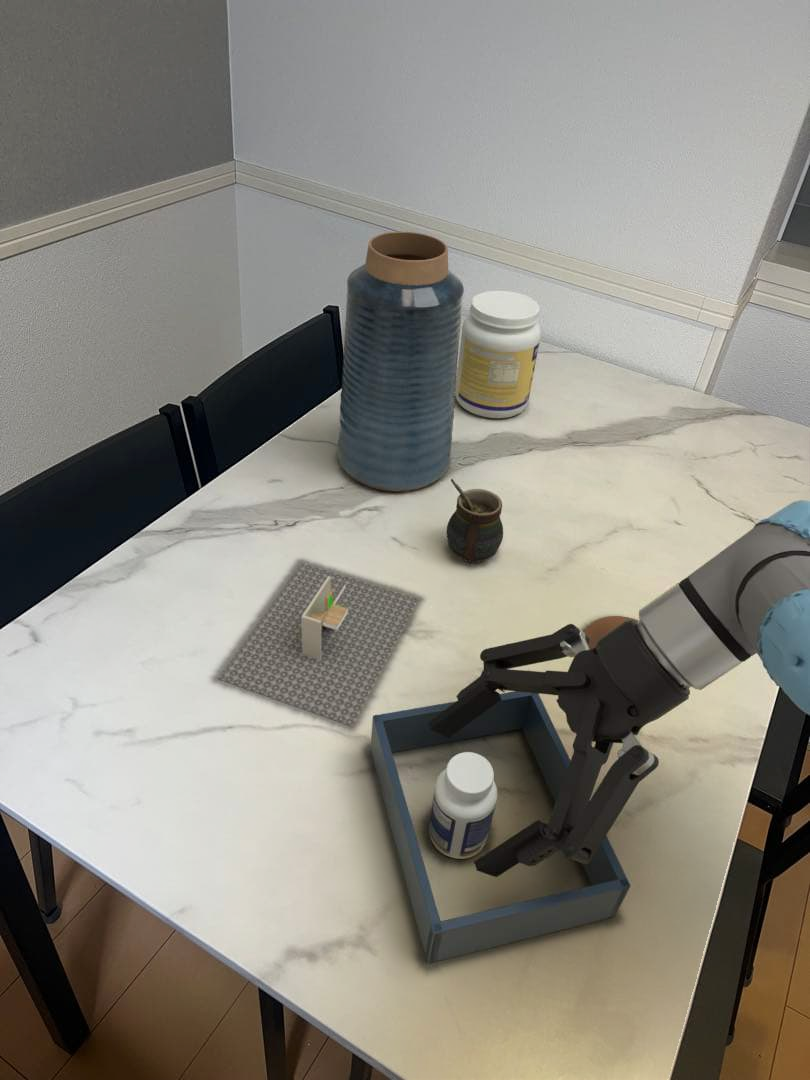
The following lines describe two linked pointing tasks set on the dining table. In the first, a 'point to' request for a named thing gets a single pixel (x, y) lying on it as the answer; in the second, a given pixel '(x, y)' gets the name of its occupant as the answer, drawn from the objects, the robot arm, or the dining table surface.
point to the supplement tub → (498, 354)
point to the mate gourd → (475, 525)
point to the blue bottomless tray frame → (435, 935)
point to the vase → (400, 363)
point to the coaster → (603, 628)
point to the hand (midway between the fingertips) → (459, 795)
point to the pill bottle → (463, 806)
